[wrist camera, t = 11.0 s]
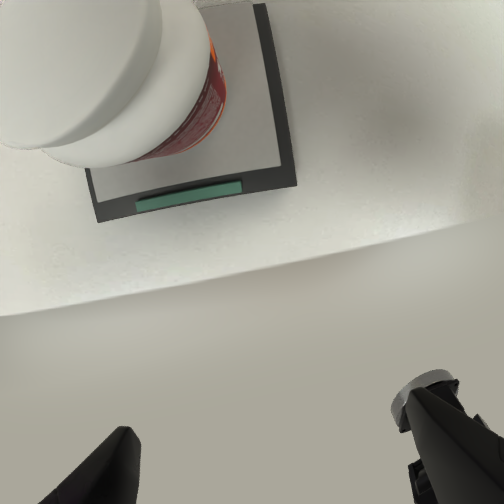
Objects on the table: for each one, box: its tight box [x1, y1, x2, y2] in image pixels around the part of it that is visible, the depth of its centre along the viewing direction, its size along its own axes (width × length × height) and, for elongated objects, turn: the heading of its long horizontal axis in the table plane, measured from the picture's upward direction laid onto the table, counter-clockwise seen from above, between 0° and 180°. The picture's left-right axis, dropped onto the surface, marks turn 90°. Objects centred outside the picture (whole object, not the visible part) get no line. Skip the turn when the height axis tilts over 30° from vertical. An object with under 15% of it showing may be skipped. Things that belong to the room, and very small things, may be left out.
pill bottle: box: [0, 0, 227, 168], centre depth 9 cm, size 6×6×11 cm
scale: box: [85, 1, 297, 223], centre depth 16 cm, size 11×12×3 cm
